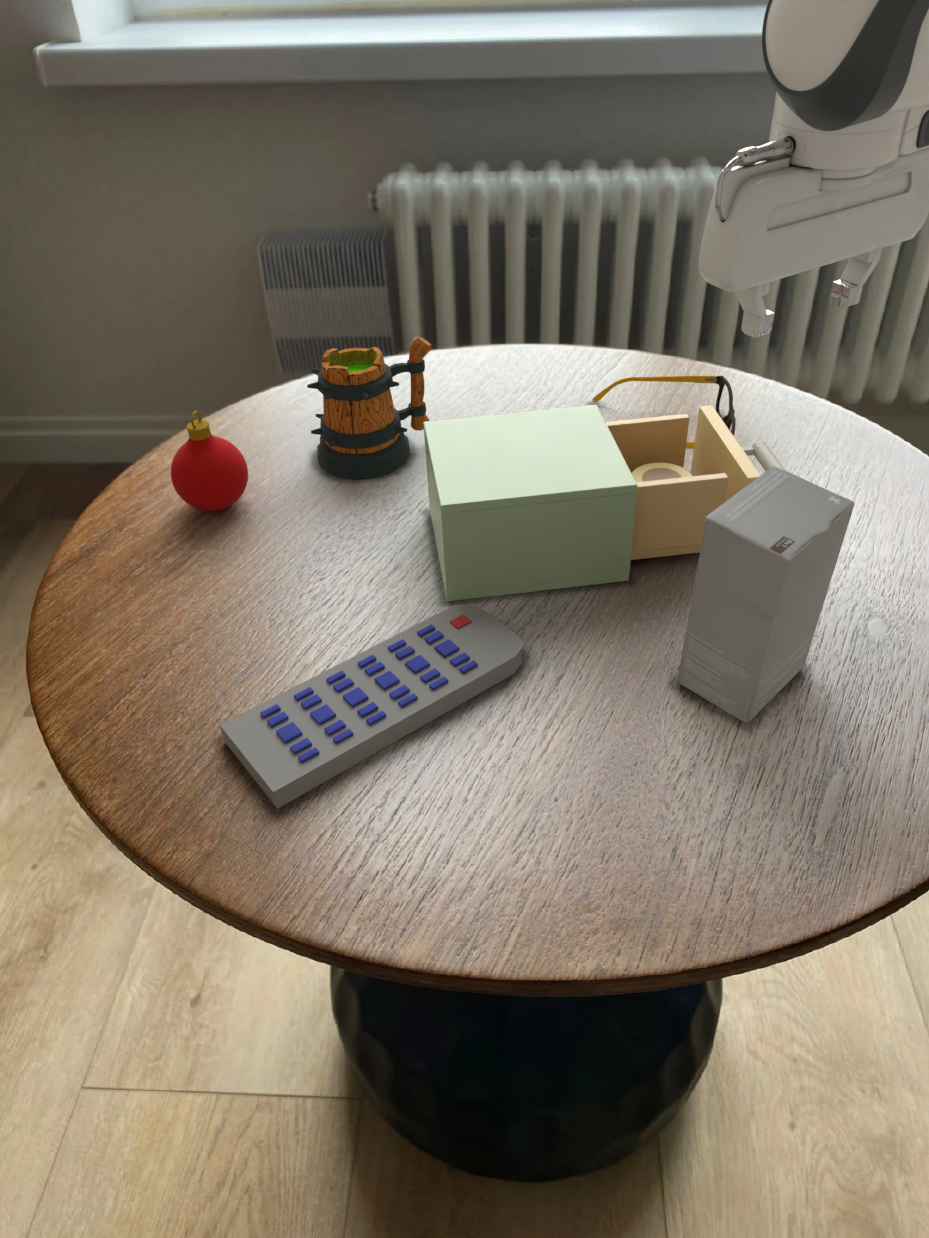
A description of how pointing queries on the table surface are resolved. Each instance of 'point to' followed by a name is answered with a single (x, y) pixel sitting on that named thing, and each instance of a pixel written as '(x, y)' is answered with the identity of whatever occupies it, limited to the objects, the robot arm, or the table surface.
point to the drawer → (682, 504)
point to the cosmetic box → (760, 589)
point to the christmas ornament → (208, 469)
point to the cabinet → (529, 502)
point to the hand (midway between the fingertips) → (800, 319)
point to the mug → (366, 410)
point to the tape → (659, 472)
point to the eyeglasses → (696, 379)
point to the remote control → (371, 700)
